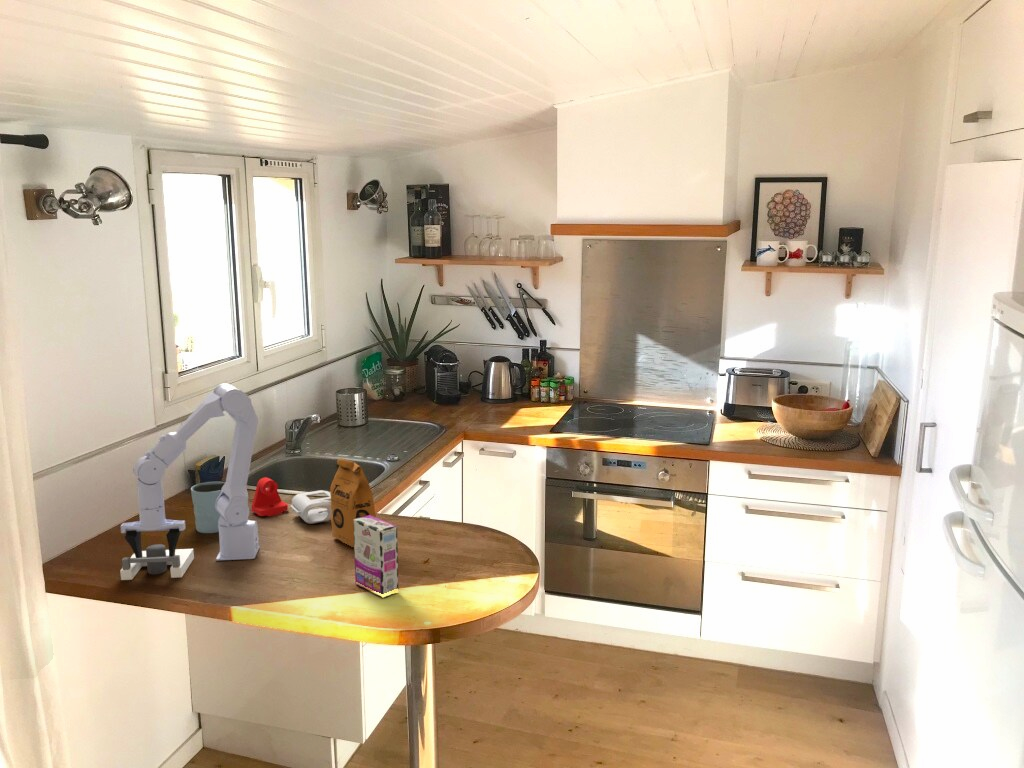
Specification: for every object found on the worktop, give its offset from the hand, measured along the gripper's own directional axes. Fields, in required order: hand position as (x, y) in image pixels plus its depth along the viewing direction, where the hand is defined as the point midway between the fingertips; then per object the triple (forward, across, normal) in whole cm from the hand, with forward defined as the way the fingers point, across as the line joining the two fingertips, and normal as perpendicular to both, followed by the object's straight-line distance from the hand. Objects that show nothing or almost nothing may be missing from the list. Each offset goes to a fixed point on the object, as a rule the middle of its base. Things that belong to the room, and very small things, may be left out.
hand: (156, 558), depth 208 cm
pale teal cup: (+3, -7, -30) cm, 31 cm away
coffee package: (+3, -47, -14) cm, 49 cm away
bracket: (+3, -21, -40) cm, 46 cm away
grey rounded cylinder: (+3, 0, 0) cm, 3 cm away
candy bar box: (+3, -54, +16) cm, 57 cm away
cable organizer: (+4, -35, -33) cm, 48 cm away
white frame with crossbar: (+3, 0, -2) cm, 4 cm away
